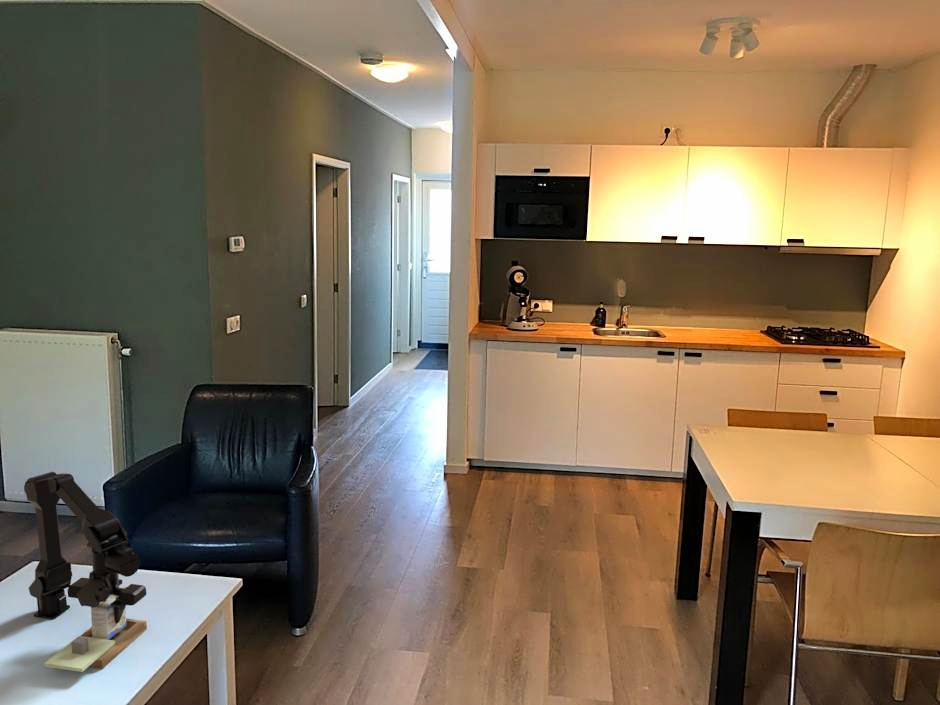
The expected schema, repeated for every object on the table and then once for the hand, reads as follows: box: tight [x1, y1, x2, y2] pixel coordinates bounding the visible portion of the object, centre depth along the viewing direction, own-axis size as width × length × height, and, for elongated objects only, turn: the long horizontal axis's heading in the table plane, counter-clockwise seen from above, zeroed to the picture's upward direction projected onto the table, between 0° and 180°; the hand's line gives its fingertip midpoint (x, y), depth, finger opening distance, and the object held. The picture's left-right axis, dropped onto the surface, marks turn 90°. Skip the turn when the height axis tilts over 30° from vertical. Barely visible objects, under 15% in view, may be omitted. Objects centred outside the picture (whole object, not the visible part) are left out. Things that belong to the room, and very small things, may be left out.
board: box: [80, 617, 148, 670], centre depth 192 cm, size 12×18×2 cm, turn 169°
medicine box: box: [90, 596, 127, 640], centre depth 194 cm, size 8×4×9 cm, turn 169°
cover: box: [43, 635, 115, 673], centre depth 183 cm, size 10×12×4 cm
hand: (109, 621), depth 194 cm, fingers closed on medicine box, 4 cm apart
